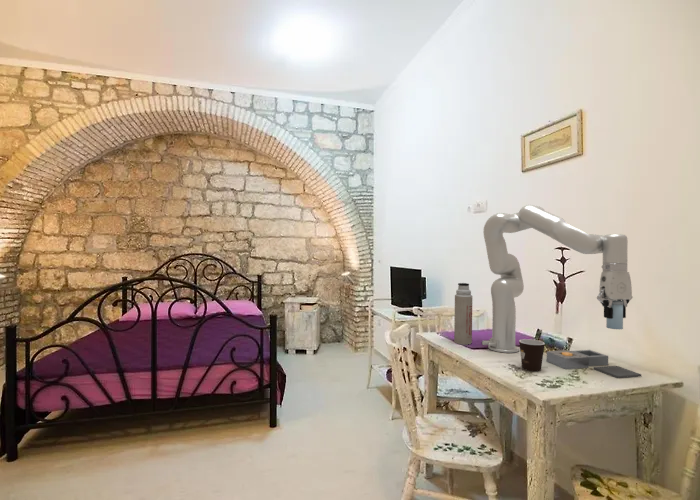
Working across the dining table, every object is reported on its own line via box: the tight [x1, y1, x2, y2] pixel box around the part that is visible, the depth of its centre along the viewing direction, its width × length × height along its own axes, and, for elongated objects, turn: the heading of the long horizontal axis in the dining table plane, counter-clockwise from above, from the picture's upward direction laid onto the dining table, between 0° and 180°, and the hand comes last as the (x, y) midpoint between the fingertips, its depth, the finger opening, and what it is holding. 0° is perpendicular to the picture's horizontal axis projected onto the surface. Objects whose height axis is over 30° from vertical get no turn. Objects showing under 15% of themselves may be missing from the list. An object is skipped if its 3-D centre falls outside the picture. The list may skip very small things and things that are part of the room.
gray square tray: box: [572, 349, 609, 367], centre depth 153 cm, size 9×9×4 cm
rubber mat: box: [593, 365, 642, 379], centre depth 140 cm, size 10×10×1 cm
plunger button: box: [562, 352, 572, 356], centre depth 150 cm, size 4×4×4 cm
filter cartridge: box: [605, 300, 624, 330], centre depth 141 cm, size 5×5×10 cm
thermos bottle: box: [453, 282, 473, 346], centre depth 182 cm, size 8×8×28 cm
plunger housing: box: [546, 349, 589, 370], centre depth 150 cm, size 10×10×4 cm
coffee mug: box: [518, 338, 545, 373], centre depth 145 cm, size 12×9×10 cm
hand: (614, 317), depth 141 cm, fingers closed on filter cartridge, 5 cm apart
